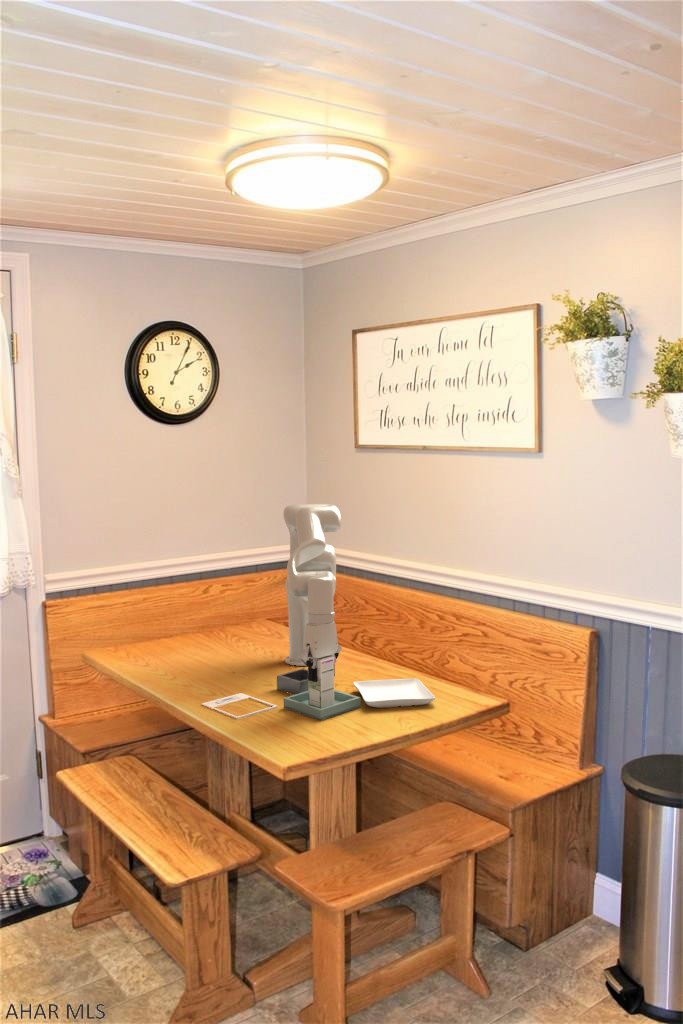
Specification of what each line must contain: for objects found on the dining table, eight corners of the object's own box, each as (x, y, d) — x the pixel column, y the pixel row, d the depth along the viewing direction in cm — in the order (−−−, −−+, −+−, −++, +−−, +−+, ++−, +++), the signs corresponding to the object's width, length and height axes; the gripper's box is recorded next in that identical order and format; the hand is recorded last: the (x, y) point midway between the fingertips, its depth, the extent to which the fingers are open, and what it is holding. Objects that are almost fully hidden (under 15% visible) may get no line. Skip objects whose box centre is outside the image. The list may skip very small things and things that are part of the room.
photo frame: (240, 692, 265) (277, 705, 252) (241, 695, 265) (277, 708, 252) (201, 702, 255) (237, 717, 242) (201, 706, 255) (237, 720, 242)
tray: (323, 695, 263) (323, 686, 263) (360, 707, 251) (360, 697, 251) (283, 708, 252) (283, 698, 251) (320, 720, 240) (320, 710, 240)
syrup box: (335, 704, 252) (335, 656, 250) (320, 709, 247) (320, 659, 246) (321, 700, 256) (321, 652, 254) (307, 705, 251) (307, 656, 250)
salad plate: (417, 687, 272) (417, 676, 272) (436, 708, 251) (436, 696, 251) (352, 691, 268) (351, 680, 268) (365, 713, 247) (365, 701, 247)
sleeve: (302, 682, 278) (302, 668, 277) (326, 689, 270) (326, 675, 269) (276, 689, 270) (276, 675, 270) (300, 696, 262) (299, 682, 262)
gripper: (333, 611, 258) (334, 669, 260) (289, 621, 246) (290, 682, 247) (350, 615, 252) (351, 674, 254) (307, 625, 240) (308, 687, 242)
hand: (321, 677), depth 251 cm, fingers open, 6 cm apart
